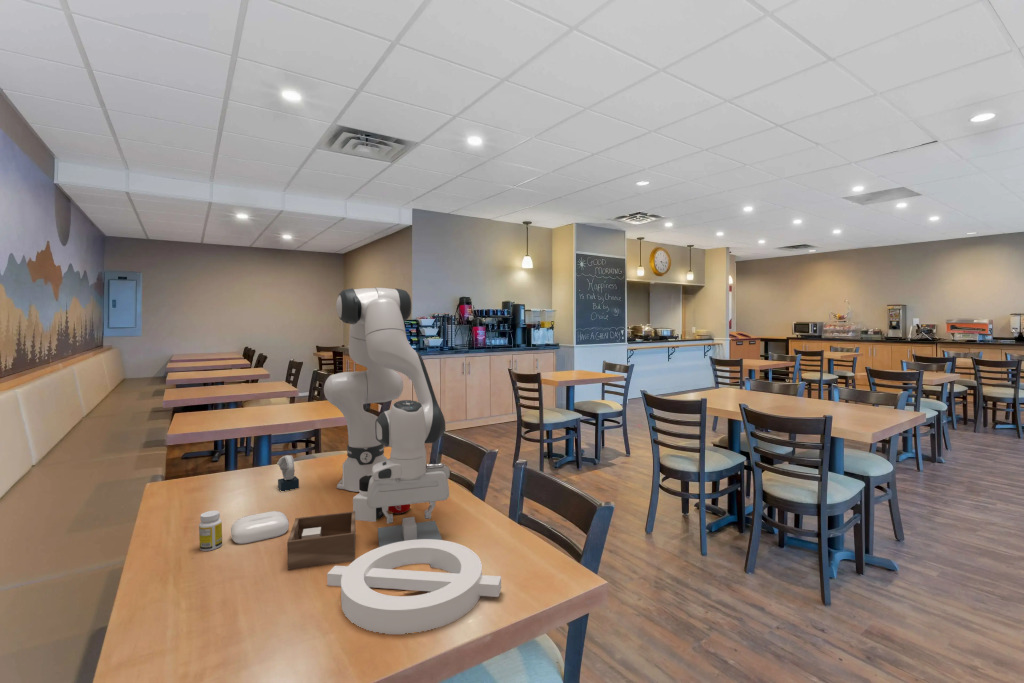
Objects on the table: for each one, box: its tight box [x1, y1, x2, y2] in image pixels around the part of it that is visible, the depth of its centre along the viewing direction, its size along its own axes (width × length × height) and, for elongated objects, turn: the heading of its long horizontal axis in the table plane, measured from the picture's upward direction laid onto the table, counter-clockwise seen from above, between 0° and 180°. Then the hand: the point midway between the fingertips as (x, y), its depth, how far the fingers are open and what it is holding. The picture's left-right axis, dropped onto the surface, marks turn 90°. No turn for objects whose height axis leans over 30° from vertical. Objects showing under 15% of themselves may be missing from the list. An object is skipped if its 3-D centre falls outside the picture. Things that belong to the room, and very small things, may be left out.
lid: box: [377, 516, 443, 548], centre depth 121 cm, size 15×15×5 cm
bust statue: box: [276, 454, 300, 492], centre depth 161 cm, size 6×8×11 cm
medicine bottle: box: [352, 475, 389, 523], centre depth 136 cm, size 7×7×12 cm
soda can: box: [388, 504, 411, 515], centre depth 141 cm, size 6×6×12 cm
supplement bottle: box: [198, 510, 223, 552], centre depth 119 cm, size 5×5×8 cm
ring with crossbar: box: [326, 539, 502, 635], centre depth 99 cm, size 28×28×5 cm
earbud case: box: [230, 510, 290, 545], centre depth 125 cm, size 10×13×5 cm
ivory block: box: [302, 527, 321, 539], centre depth 116 cm, size 4×4×4 cm
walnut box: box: [286, 510, 357, 571], centre depth 114 cm, size 14×14×7 cm
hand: (409, 520), depth 122 cm, fingers open, 8 cm apart
